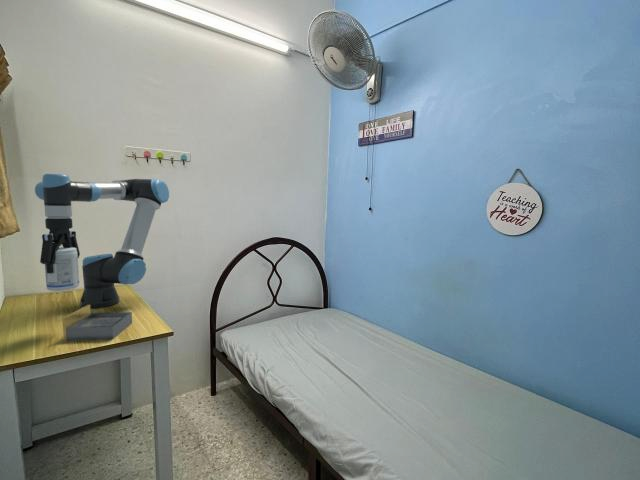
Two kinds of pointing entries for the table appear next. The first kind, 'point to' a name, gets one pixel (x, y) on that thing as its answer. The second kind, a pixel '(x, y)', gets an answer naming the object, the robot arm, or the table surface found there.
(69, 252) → the supplement tub
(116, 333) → the gray square tray
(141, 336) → the table surface
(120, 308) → the table surface
